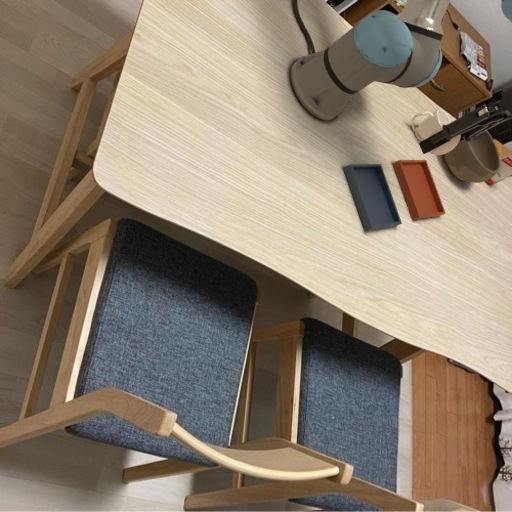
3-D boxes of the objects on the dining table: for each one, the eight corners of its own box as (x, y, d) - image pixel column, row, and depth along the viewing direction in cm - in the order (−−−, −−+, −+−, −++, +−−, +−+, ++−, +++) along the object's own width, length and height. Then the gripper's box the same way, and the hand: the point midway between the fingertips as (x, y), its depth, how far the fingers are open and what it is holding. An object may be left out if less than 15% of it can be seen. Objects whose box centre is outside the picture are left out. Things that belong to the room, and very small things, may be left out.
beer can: (486, 186, 175) (537, 164, 164) (478, 167, 176) (528, 144, 165) (494, 184, 180) (544, 162, 168) (486, 165, 180) (536, 143, 169)
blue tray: (343, 168, 130) (350, 164, 128) (374, 167, 138) (381, 164, 136) (364, 231, 127) (372, 227, 126) (394, 226, 136) (402, 223, 134)
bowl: (432, 124, 165) (463, 107, 158) (467, 149, 175) (497, 134, 168) (437, 175, 158) (470, 159, 150) (474, 198, 168) (506, 184, 160)
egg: (430, 139, 130) (461, 122, 124) (438, 161, 128) (469, 145, 123) (417, 136, 126) (448, 118, 120) (424, 159, 125) (456, 142, 119)
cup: (427, 150, 158) (452, 137, 152) (404, 132, 153) (430, 118, 147) (426, 131, 161) (451, 117, 156) (404, 112, 156) (429, 97, 151)
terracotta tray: (392, 163, 144) (399, 160, 142) (419, 163, 153) (426, 159, 152) (412, 220, 142) (419, 217, 140) (439, 216, 151) (445, 213, 149)
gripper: (519, 111, 104) (413, 165, 120) (554, 112, 116) (454, 161, 133) (503, 73, 104) (400, 133, 121) (539, 79, 117) (442, 132, 134)
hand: (428, 148), depth 127 cm, fingers closed on egg, 5 cm apart
